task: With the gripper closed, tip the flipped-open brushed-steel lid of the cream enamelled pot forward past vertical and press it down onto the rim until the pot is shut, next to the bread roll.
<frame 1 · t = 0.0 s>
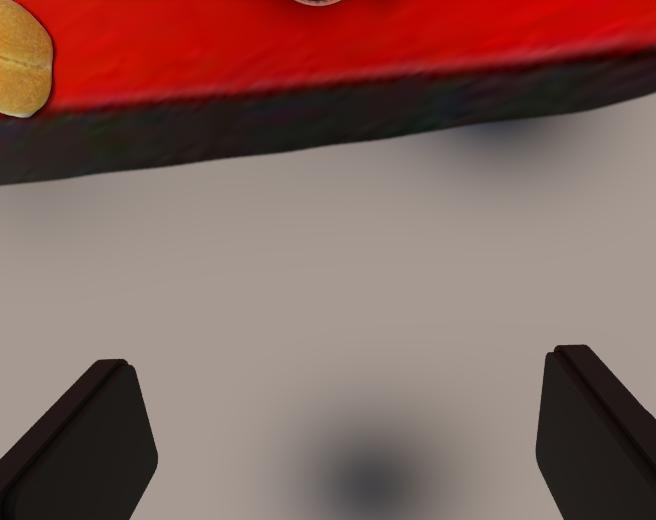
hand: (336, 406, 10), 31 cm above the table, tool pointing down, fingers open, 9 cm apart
bread roll: (14, 61, 38), on the table
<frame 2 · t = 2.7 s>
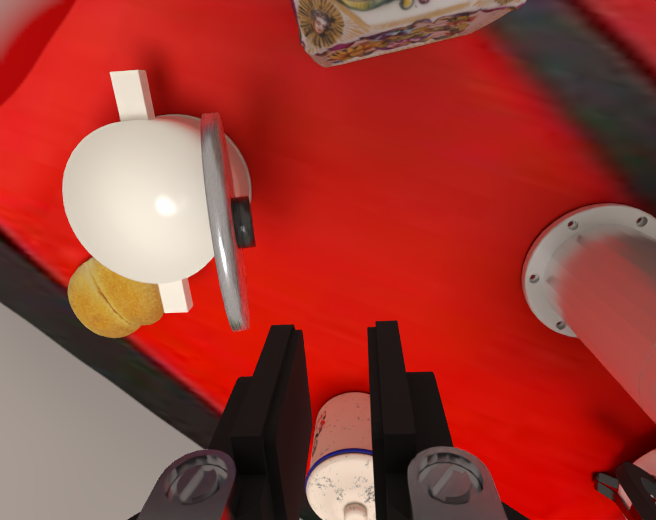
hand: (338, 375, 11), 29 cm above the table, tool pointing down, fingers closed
teacup with lid: (358, 433, 48), on the table
bread roll: (125, 289, 44), on the table
coffee press: (652, 466, 48), on the table
lid: (236, 223, 26), point 14 cm above the table, hinge at 104.0°
pot: (184, 185, 40), on the table
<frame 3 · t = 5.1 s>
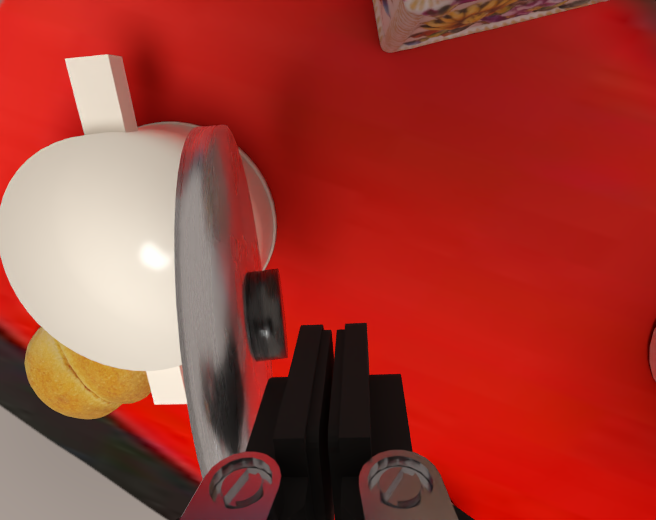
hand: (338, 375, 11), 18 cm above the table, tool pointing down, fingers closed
bread roll: (104, 353, 34), on the table
lid: (255, 316, 15), point 14 cm above the table, hinge at 100.2°, touching gripper
pot: (183, 220, 29), on the table
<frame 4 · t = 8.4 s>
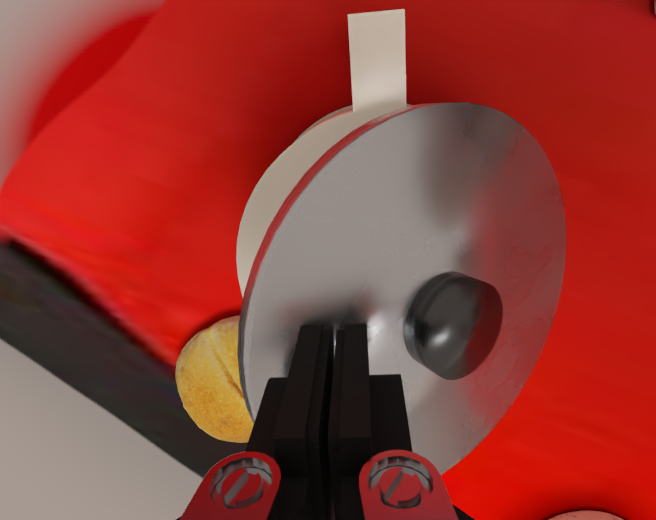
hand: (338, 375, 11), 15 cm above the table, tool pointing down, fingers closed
bread roll: (252, 367, 30), on the table
lid: (444, 320, 13), point 12 cm above the table, hinge at 34.8°, touching gripper
pot: (377, 216, 25), on the table
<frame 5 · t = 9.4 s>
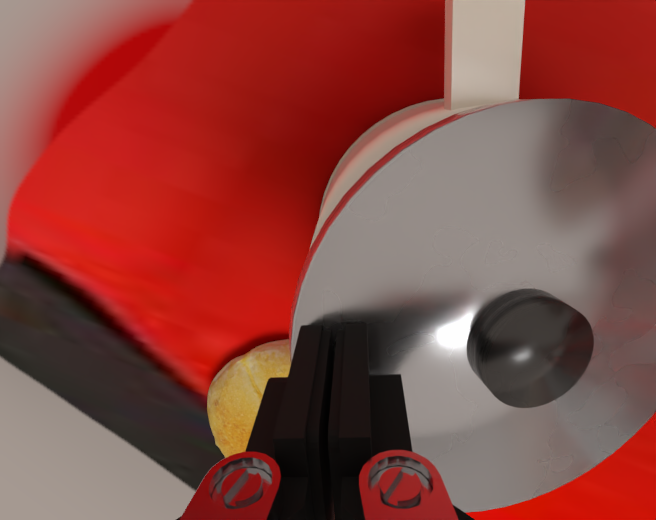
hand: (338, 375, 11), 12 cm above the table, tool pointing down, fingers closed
bread roll: (291, 396, 26), on the table
lid: (519, 340, 12), point 10 cm above the table, hinge at 14.1°, touching gripper
pot: (443, 230, 22), on the table
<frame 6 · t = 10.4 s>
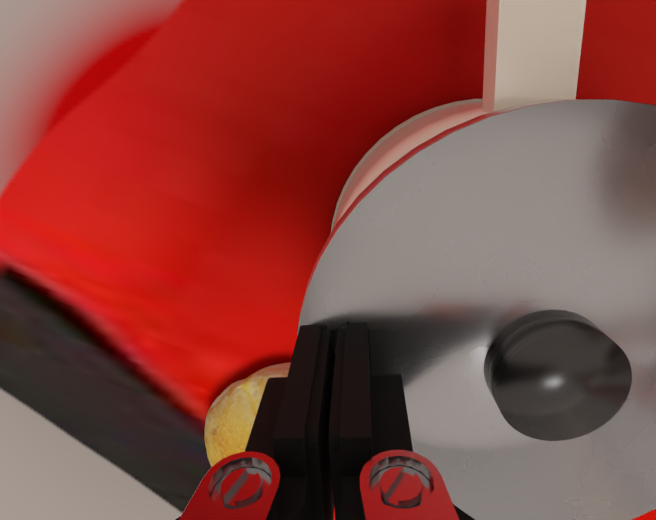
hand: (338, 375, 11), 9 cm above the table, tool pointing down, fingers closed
bread roll: (296, 422, 24), on the table
lid: (546, 366, 11), point 9 cm above the table, hinge at 3.3°, touching gripper
pot: (468, 245, 20), on the table
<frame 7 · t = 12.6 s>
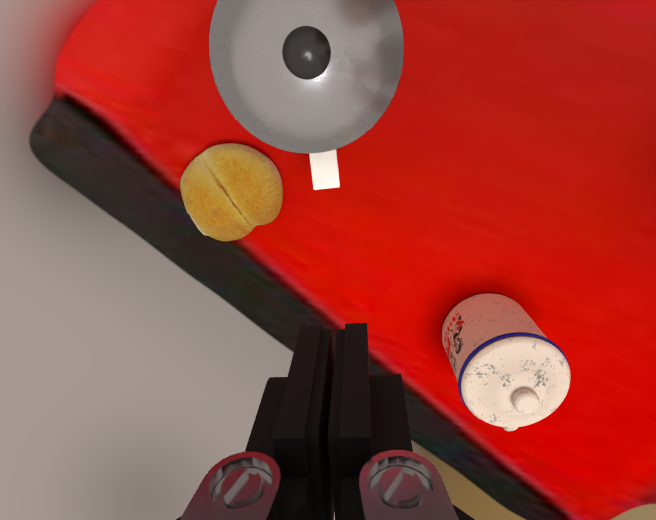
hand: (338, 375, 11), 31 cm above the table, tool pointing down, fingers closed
teacup with lid: (484, 341, 46), on the table
bread roll: (235, 190, 42), on the table
lid: (306, 54, 28), point 9 cm above the table, hinge at 3.2°
pot: (317, 63, 37), on the table
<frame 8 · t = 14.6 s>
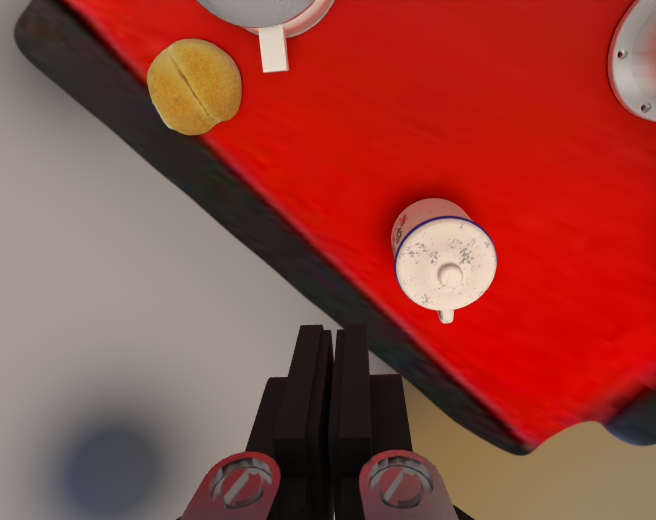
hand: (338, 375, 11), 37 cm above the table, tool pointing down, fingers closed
teacup with lid: (431, 248, 49), on the table
bread roll: (199, 88, 45), on the table
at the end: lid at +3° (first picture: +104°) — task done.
